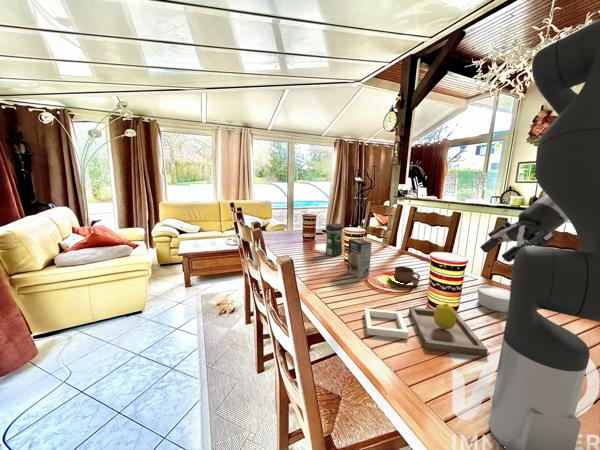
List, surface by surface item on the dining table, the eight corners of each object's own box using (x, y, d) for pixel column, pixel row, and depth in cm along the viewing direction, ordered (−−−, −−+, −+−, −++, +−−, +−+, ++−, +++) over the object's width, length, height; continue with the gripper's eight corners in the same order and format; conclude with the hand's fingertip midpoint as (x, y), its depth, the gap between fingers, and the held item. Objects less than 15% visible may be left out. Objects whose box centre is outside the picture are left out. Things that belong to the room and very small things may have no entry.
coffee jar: (335, 251, 150) (335, 221, 147) (344, 254, 144) (345, 223, 140) (323, 254, 145) (323, 223, 141) (332, 257, 138) (333, 225, 135)
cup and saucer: (412, 278, 109) (413, 265, 108) (423, 289, 97) (424, 275, 96) (385, 277, 110) (386, 264, 109) (392, 288, 99) (393, 274, 98)
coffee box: (346, 271, 116) (348, 239, 114) (357, 269, 119) (359, 237, 116) (358, 278, 108) (360, 243, 105) (370, 276, 111) (372, 242, 108)
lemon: (458, 336, 66) (461, 309, 65) (436, 334, 68) (439, 307, 66) (450, 325, 72) (453, 300, 70) (429, 322, 73) (432, 298, 71)
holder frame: (408, 339, 67) (408, 332, 66) (367, 334, 69) (367, 328, 68) (399, 317, 77) (400, 311, 77) (364, 314, 79) (364, 308, 79)
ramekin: (489, 296, 92) (491, 283, 91) (524, 311, 81) (526, 296, 80) (467, 300, 88) (469, 287, 87) (501, 316, 78) (503, 301, 77)
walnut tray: (486, 356, 60) (487, 349, 60) (426, 349, 63) (426, 342, 62) (455, 317, 77) (456, 311, 77) (408, 312, 80) (409, 307, 80)
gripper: (517, 200, 68) (468, 238, 71) (566, 203, 54) (503, 251, 57) (534, 219, 68) (485, 256, 71) (588, 228, 54) (524, 274, 57)
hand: (493, 254), depth 64 cm, fingers open, 8 cm apart
